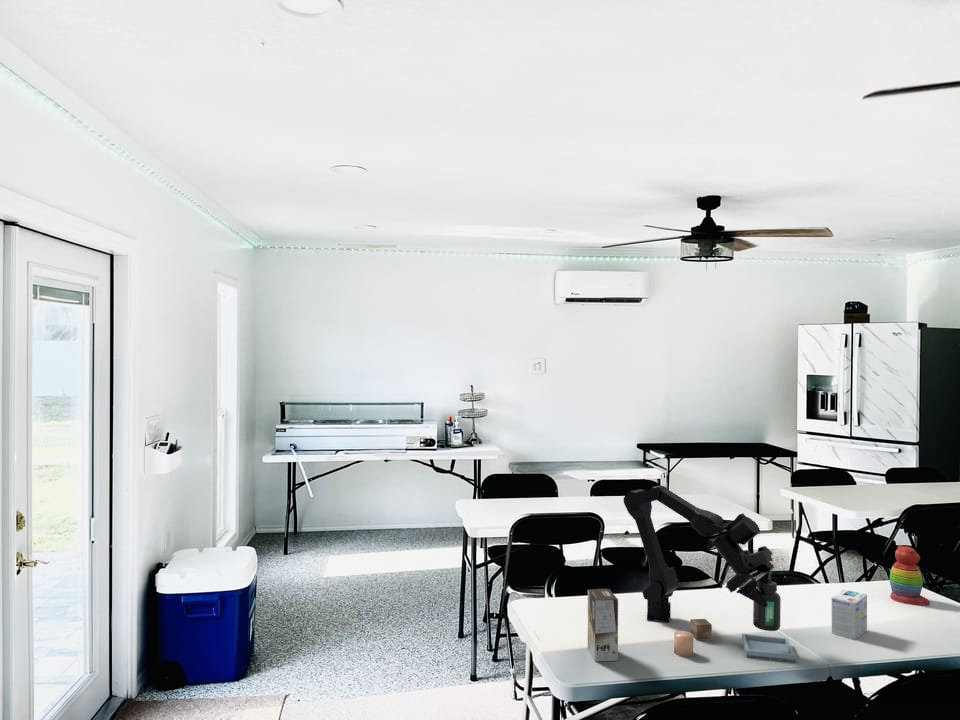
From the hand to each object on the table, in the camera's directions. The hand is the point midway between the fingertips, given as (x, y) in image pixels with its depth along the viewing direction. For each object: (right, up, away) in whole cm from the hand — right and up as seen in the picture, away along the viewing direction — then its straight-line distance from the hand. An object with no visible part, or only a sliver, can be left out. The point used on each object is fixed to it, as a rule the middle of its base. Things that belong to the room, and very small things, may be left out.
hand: (771, 603), depth 186 cm
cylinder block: (-24, -13, -1) cm, 28 cm away
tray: (-1, -13, +1) cm, 13 cm away
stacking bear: (+64, -14, +43) cm, 78 cm away
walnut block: (-16, -13, +10) cm, 23 cm away
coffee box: (-46, -13, -2) cm, 48 cm away
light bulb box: (+29, -14, +15) cm, 35 cm away
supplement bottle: (-1, -7, +1) cm, 7 cm away
